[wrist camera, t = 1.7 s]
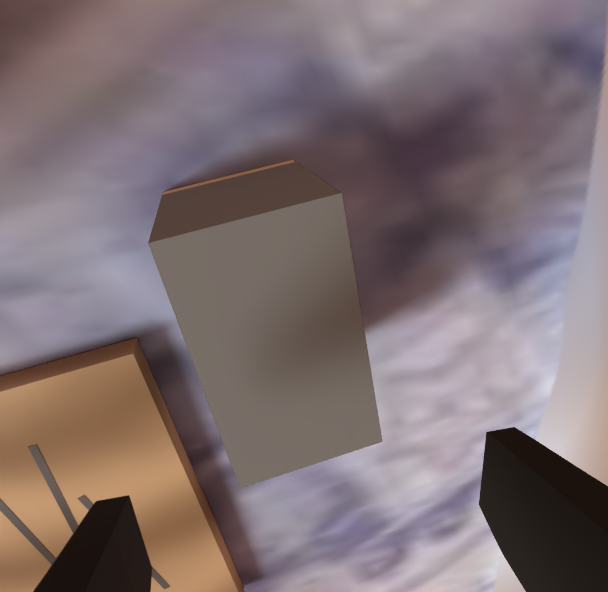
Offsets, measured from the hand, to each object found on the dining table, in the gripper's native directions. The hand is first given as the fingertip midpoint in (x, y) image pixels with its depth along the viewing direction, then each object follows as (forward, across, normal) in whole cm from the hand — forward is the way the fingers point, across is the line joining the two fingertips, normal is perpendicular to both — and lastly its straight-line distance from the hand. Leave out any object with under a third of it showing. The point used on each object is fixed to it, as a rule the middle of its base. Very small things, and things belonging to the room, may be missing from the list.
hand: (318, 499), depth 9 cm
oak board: (+9, +10, +9) cm, 17 cm away
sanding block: (+10, 0, -1) cm, 10 cm away
